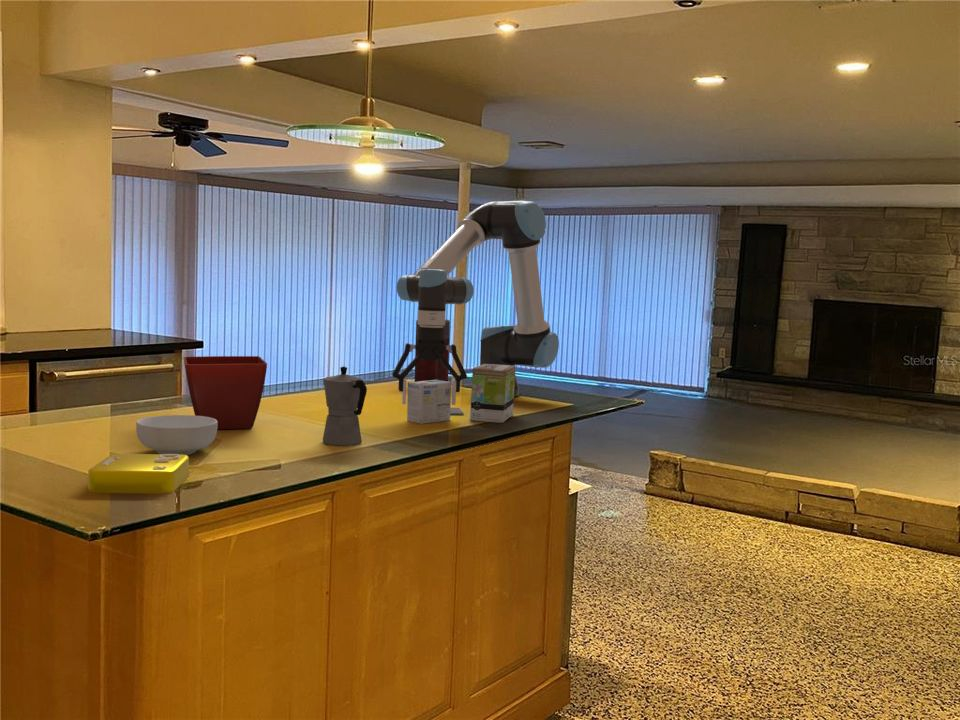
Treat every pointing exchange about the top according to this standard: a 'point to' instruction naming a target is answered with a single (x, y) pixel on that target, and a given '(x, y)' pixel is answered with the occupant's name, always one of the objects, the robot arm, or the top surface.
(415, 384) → the light bulb box
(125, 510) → the top surface
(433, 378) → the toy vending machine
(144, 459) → the element tile
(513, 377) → the tea box
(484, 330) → the robot arm
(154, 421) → the cereal bowl
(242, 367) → the plant pot
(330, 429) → the coffeepot
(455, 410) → the rubber mat
